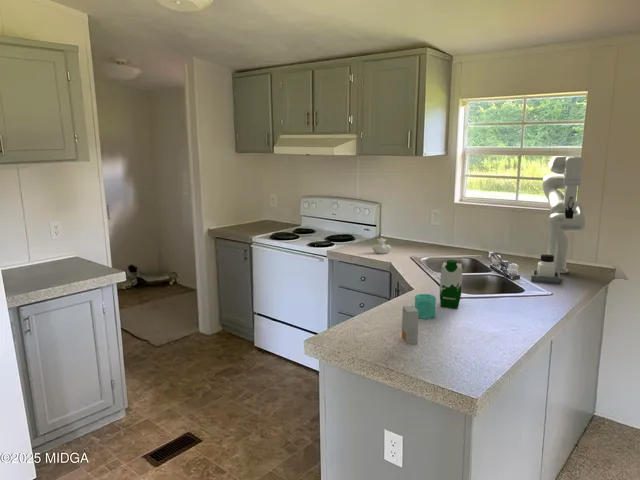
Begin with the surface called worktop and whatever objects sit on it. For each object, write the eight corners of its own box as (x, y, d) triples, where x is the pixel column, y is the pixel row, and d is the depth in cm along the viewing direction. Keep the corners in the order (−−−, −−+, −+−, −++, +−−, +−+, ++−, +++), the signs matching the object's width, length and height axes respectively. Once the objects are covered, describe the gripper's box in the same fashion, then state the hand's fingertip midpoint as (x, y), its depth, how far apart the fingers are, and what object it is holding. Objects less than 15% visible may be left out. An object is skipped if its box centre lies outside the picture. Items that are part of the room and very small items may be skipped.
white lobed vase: (371, 256, 310) (371, 244, 301) (372, 247, 315) (372, 235, 306) (390, 257, 308) (390, 245, 299) (391, 248, 313) (391, 236, 304)
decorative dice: (434, 313, 198) (435, 294, 196) (435, 320, 190) (435, 300, 189) (414, 311, 199) (415, 293, 198) (414, 318, 192) (415, 299, 190)
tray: (531, 275, 256) (532, 269, 255) (559, 277, 250) (559, 272, 250) (531, 281, 244) (531, 275, 243) (559, 284, 239) (560, 278, 238)
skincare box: (401, 337, 172) (402, 305, 170) (413, 337, 172) (414, 305, 170) (405, 344, 166) (406, 311, 164) (417, 344, 167) (419, 311, 164)
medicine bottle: (554, 279, 243) (556, 256, 241) (539, 278, 245) (541, 255, 242) (551, 276, 250) (553, 253, 247) (536, 275, 251) (538, 252, 249)
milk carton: (438, 307, 204) (440, 261, 200) (440, 301, 213) (442, 257, 209) (459, 310, 201) (462, 263, 198) (461, 303, 210) (463, 258, 206)
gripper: (562, 181, 246) (559, 214, 249) (564, 183, 230) (560, 219, 233) (579, 181, 242) (576, 215, 246) (581, 183, 227) (578, 220, 230)
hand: (568, 217), depth 239 cm, fingers open, 9 cm apart
